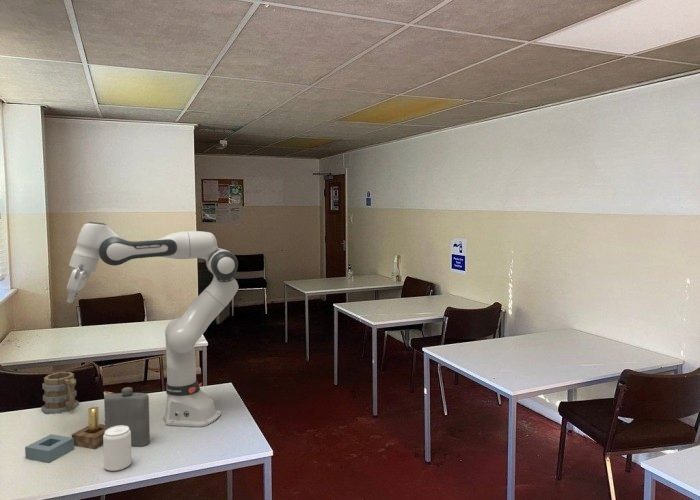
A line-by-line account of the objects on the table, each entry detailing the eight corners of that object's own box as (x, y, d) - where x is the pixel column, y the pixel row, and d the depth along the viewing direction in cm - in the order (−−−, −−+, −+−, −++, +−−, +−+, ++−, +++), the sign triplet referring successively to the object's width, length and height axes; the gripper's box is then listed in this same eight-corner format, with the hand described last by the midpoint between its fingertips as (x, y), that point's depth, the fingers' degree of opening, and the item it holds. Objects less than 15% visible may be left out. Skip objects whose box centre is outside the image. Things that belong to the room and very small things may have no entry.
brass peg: (101, 439, 177) (100, 407, 177) (94, 443, 174) (93, 410, 174) (94, 438, 178) (93, 406, 178) (87, 442, 175) (86, 409, 174)
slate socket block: (74, 449, 170) (73, 437, 170) (49, 462, 161) (48, 451, 160) (51, 445, 173) (51, 434, 173) (25, 458, 164) (25, 446, 163)
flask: (152, 439, 178) (151, 385, 177) (146, 446, 172) (145, 391, 171) (110, 440, 177) (108, 386, 176) (103, 447, 171) (101, 392, 170)
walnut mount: (116, 436, 180) (115, 426, 180) (94, 449, 170) (94, 438, 170) (94, 433, 183) (93, 422, 182) (71, 445, 173) (71, 434, 173)
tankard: (38, 408, 206) (36, 373, 205) (70, 400, 215) (69, 366, 214) (56, 421, 193) (54, 384, 192) (90, 411, 203) (88, 376, 202)
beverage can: (99, 467, 158) (97, 431, 157) (122, 457, 165) (121, 422, 164) (113, 475, 153) (112, 437, 153) (136, 464, 160) (135, 428, 159)
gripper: (89, 268, 171) (76, 306, 170) (96, 264, 190) (84, 298, 189) (69, 263, 169) (56, 302, 168) (78, 259, 188) (67, 294, 187)
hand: (71, 300), depth 179 cm, fingers open, 8 cm apart
